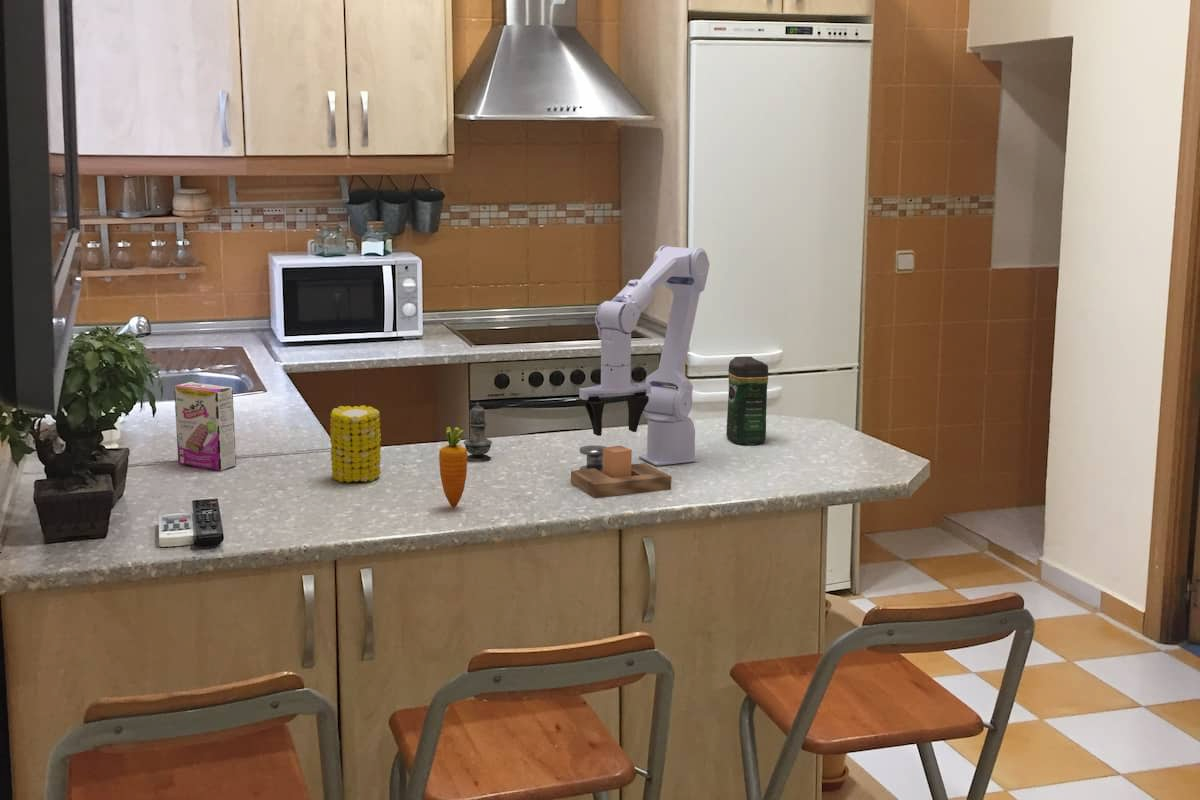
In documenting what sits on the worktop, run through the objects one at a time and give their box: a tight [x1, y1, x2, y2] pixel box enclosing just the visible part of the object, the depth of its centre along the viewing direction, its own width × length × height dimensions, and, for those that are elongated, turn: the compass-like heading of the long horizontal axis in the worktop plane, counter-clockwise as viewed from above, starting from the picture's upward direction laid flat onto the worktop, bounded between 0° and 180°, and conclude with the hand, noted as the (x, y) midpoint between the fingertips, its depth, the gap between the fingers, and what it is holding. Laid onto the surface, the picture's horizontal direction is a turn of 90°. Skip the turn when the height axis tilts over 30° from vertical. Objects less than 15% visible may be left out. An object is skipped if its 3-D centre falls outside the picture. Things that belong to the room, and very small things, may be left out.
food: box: [329, 405, 382, 483], centre depth 253 cm, size 15×12×10 cm
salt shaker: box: [463, 401, 493, 463], centre depth 270 cm, size 6×6×12 cm
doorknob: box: [579, 444, 607, 473], centre depth 262 cm, size 6×6×5 cm
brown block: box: [603, 445, 633, 478], centre depth 252 cm, size 4×4×7 cm
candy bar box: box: [173, 381, 237, 472], centre depth 261 cm, size 11×5×16 cm, turn 65°
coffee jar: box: [725, 356, 769, 446], centre depth 288 cm, size 10×8×19 cm
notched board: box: [570, 462, 672, 499], centre depth 251 cm, size 16×11×2 cm
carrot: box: [438, 426, 468, 509], centre depth 234 cm, size 5×5×15 cm
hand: (615, 432), depth 254 cm, fingers open, 7 cm apart
